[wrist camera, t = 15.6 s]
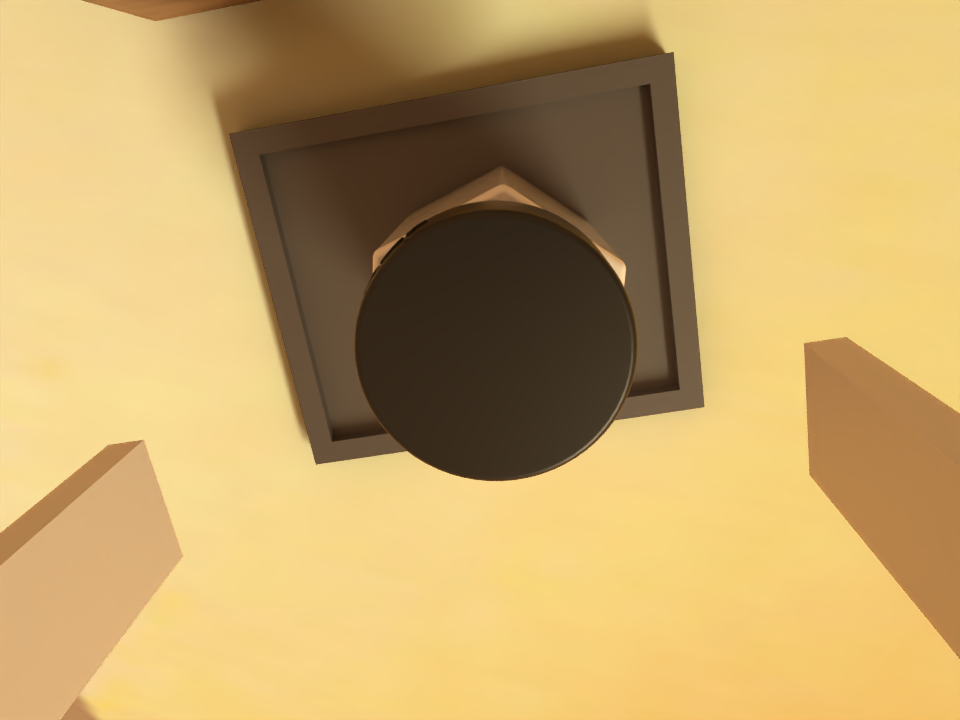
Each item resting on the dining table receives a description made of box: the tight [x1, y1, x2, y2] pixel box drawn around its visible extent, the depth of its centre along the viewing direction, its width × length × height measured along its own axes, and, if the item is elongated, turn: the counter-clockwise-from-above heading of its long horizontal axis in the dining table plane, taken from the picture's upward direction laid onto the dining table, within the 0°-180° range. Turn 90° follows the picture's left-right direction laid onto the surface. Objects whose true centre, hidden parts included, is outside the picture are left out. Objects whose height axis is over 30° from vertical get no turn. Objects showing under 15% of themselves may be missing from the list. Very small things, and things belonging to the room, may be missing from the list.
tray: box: [229, 52, 704, 464], centre depth 33 cm, size 18×15×1 cm
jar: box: [354, 166, 638, 481], centre depth 27 cm, size 9×8×12 cm
